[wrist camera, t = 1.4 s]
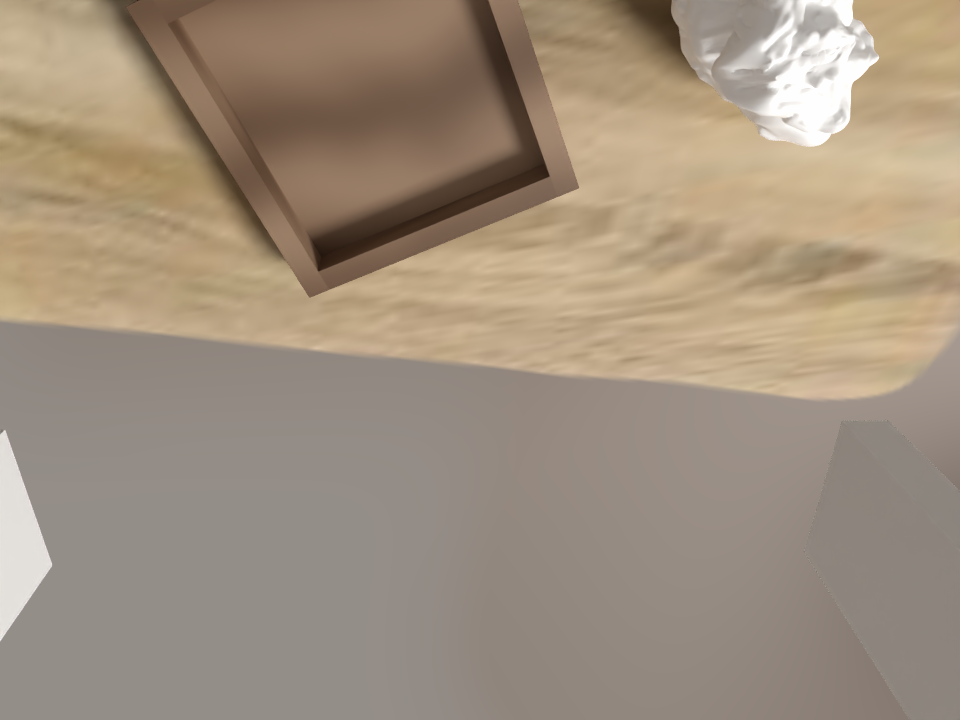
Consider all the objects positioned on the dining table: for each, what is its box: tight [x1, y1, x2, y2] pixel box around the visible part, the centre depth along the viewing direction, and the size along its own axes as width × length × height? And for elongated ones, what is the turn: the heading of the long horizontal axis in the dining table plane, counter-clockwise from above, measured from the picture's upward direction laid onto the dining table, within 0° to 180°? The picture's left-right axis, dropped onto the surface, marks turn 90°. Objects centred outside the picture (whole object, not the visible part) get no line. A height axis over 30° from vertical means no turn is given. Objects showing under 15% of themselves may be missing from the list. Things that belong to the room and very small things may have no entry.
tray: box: [126, 0, 579, 298], centre depth 29 cm, size 13×13×2 cm
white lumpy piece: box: [671, 0, 879, 147], centre depth 26 cm, size 12×8×11 cm
